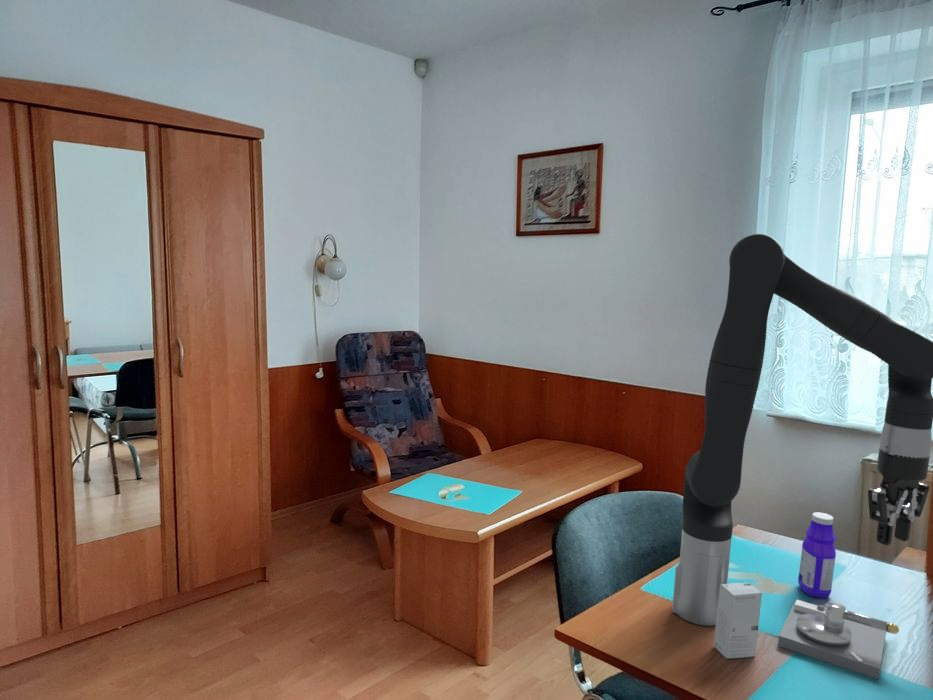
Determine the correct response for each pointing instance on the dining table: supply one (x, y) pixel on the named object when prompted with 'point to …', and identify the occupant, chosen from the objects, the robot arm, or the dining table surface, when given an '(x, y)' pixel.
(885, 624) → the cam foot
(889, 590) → the dining table surface
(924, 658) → the dining table surface
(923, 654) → the dining table surface
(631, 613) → the dining table surface
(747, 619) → the skincare box
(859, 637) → the switch base
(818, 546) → the bottle
